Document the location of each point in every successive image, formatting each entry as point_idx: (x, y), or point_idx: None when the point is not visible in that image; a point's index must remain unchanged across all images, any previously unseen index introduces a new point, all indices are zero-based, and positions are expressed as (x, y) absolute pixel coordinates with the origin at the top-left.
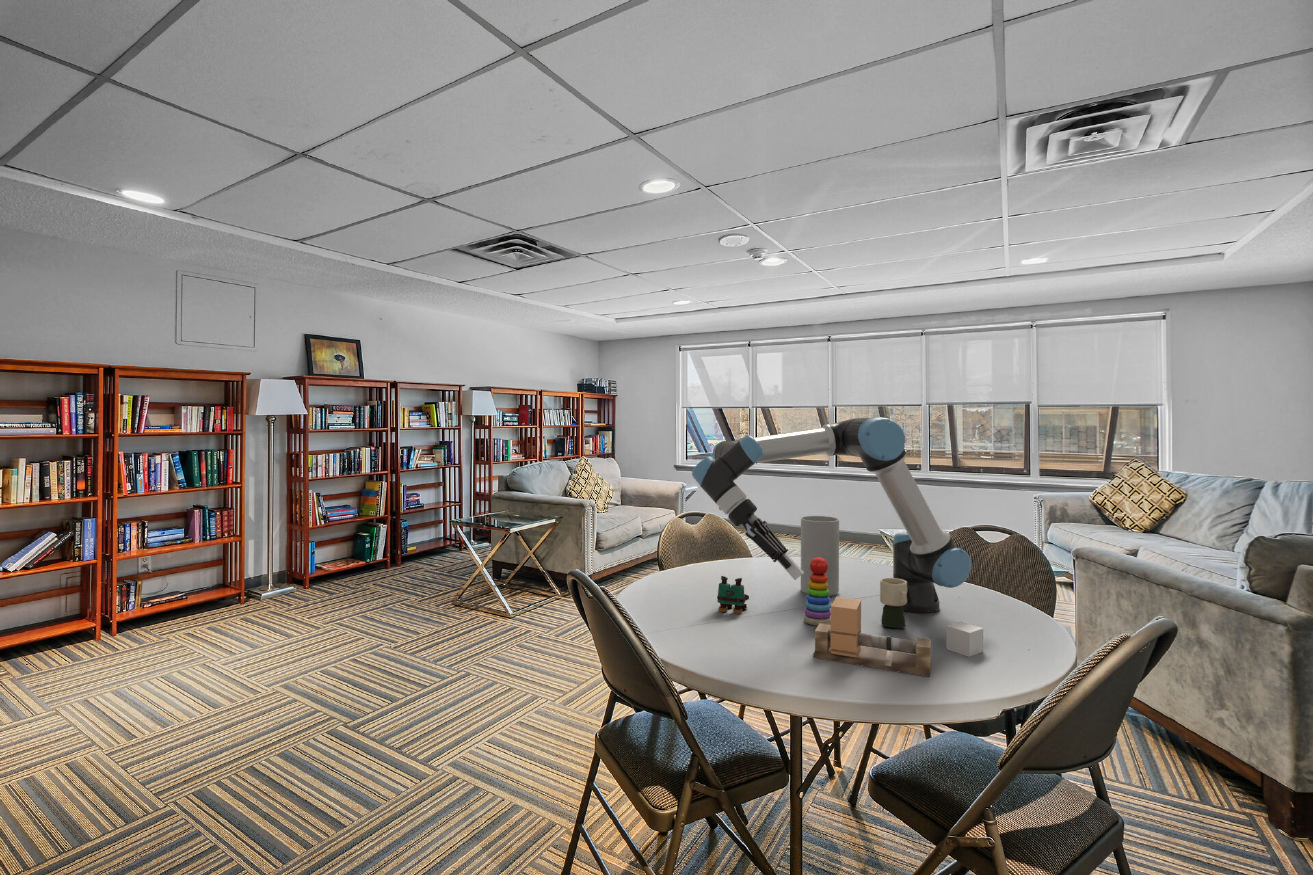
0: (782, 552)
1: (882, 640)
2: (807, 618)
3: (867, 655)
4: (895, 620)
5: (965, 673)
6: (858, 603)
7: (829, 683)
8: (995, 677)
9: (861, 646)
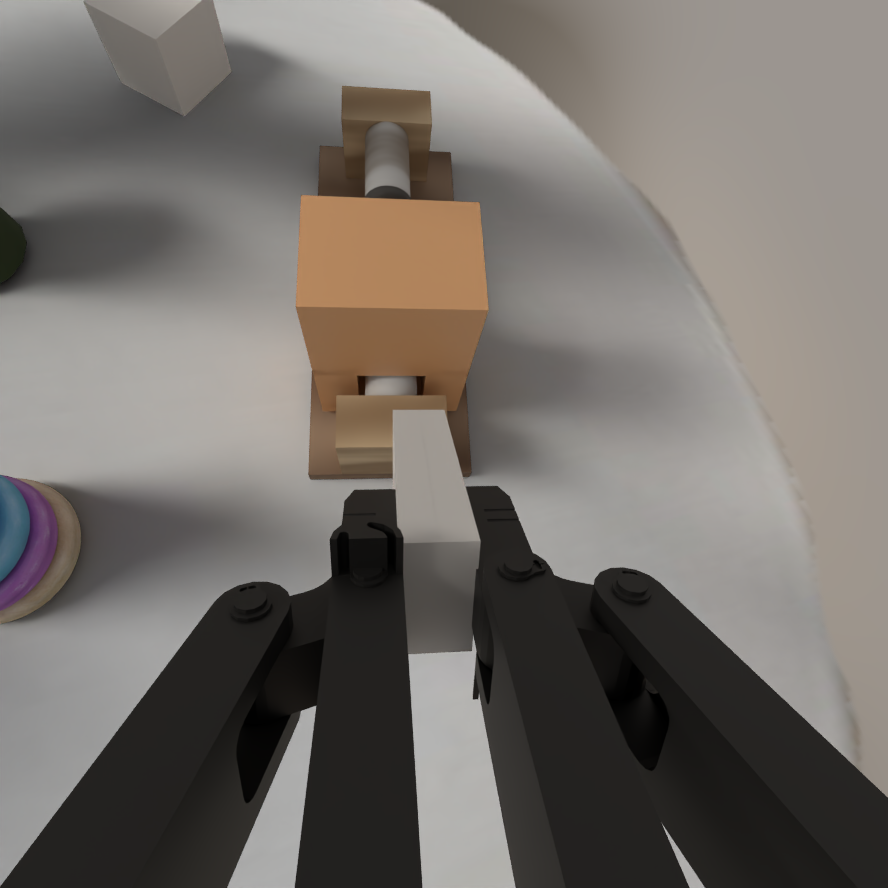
0: (523, 561)
1: None
2: (44, 589)
3: None
4: (5, 221)
5: None
6: (372, 202)
7: (647, 390)
8: (368, 39)
9: None
